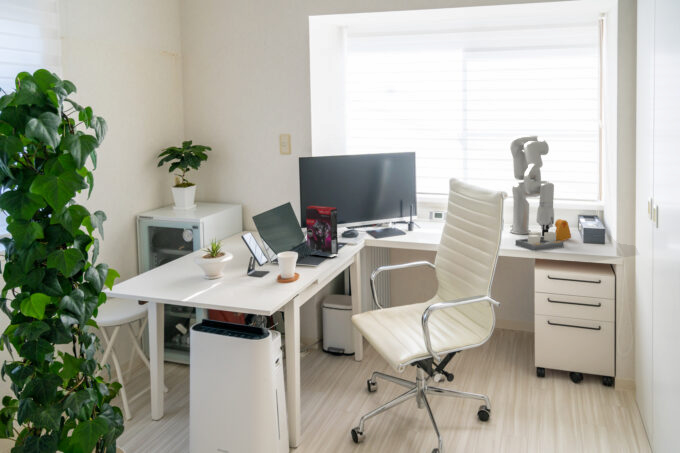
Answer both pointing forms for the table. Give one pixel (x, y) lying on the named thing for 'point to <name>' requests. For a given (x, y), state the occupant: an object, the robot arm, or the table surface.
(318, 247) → the graphics card box
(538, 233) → the switch tab
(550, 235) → the switch tab
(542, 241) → the dark grey tray
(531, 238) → the switch tab
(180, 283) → the table surface
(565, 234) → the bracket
